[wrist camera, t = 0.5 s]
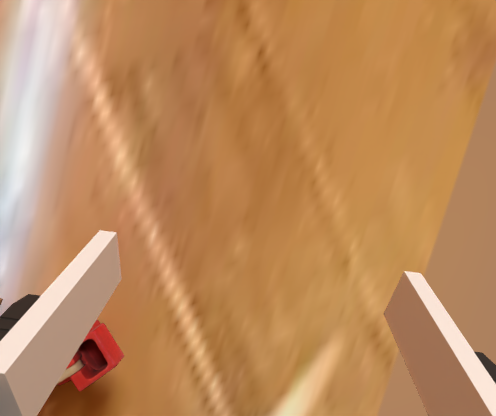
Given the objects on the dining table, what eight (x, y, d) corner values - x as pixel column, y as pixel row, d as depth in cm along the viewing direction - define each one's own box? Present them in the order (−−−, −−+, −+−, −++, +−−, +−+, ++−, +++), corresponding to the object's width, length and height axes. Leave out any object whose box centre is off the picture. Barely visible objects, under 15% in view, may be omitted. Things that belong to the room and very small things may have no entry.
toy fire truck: (11, 373, 30) (-86, 446, 21) (130, 296, 32) (90, 332, 22) (30, 400, 31) (-59, 485, 21) (148, 323, 32) (115, 370, 22)
